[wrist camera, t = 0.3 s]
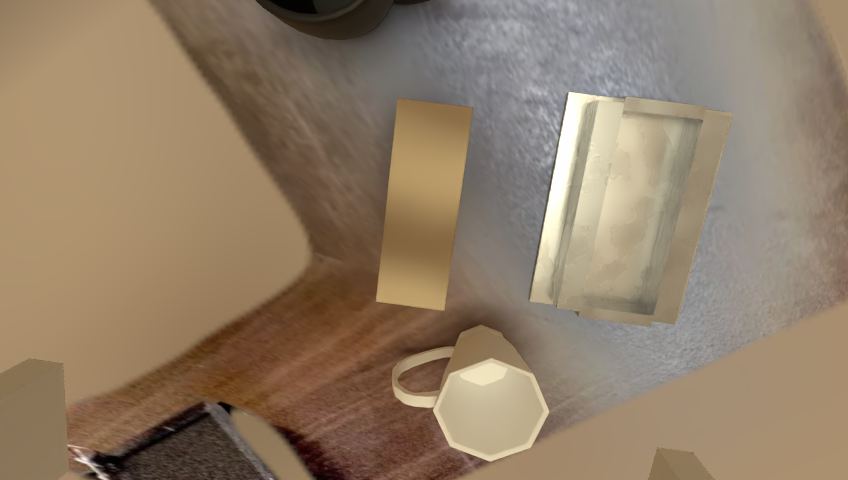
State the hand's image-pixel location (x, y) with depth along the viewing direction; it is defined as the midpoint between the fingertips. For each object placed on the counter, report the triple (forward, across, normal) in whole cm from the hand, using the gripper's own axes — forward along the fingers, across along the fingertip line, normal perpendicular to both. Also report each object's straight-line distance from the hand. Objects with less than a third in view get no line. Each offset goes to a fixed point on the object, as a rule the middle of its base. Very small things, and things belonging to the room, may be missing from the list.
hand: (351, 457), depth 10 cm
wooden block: (+24, 0, +4) cm, 24 cm away
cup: (+24, +5, -9) cm, 26 cm away
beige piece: (+24, +14, +4) cm, 28 cm away
